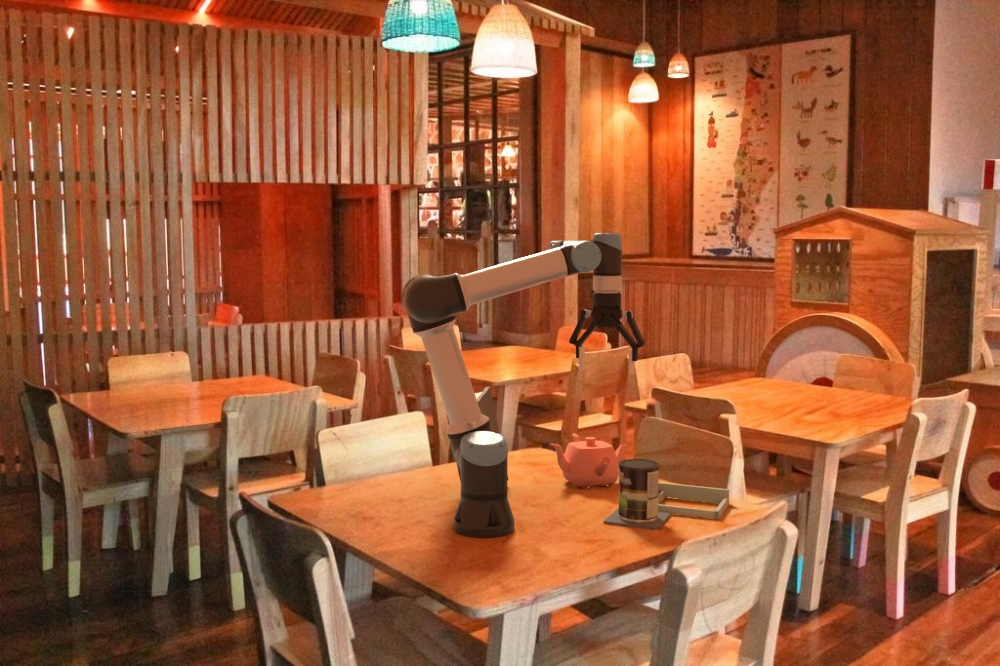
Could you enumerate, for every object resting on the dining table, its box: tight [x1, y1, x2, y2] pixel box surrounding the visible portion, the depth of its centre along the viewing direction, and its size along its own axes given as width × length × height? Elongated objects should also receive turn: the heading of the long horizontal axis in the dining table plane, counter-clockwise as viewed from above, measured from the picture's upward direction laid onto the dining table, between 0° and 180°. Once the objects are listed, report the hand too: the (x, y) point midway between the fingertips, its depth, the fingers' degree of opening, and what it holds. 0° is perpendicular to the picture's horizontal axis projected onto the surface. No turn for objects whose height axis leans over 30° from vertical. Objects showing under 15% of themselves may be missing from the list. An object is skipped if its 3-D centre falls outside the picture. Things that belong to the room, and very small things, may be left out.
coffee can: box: [618, 458, 660, 523], centre depth 245 cm, size 10×10×14 cm
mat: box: [603, 507, 672, 531], centre depth 246 cm, size 14×14×1 cm
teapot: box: [549, 432, 628, 489], centre depth 280 cm, size 18×18×14 cm
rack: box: [658, 481, 730, 520], centre depth 258 cm, size 16×26×5 cm, turn 67°
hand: (606, 372), depth 253 cm, fingers open, 13 cm apart
